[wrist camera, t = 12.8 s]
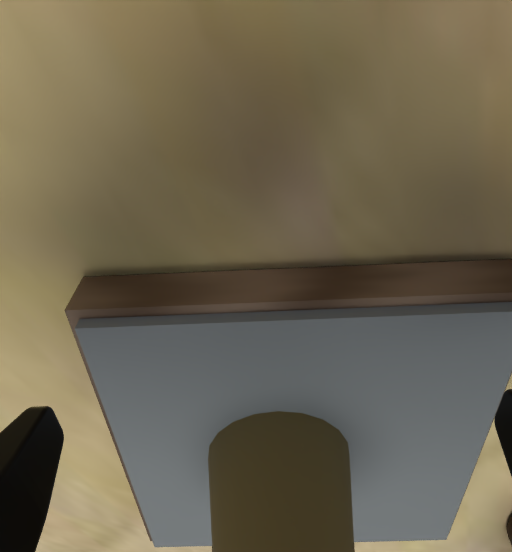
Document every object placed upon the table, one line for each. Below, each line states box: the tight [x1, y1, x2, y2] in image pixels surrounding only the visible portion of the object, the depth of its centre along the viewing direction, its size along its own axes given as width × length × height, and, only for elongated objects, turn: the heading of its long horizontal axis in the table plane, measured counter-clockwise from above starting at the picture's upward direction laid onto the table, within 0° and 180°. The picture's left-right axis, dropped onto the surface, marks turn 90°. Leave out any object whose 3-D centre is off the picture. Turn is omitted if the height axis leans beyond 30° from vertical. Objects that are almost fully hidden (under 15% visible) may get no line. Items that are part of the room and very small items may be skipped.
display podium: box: [65, 259, 512, 547], centre depth 20 cm, size 16×16×2 cm
